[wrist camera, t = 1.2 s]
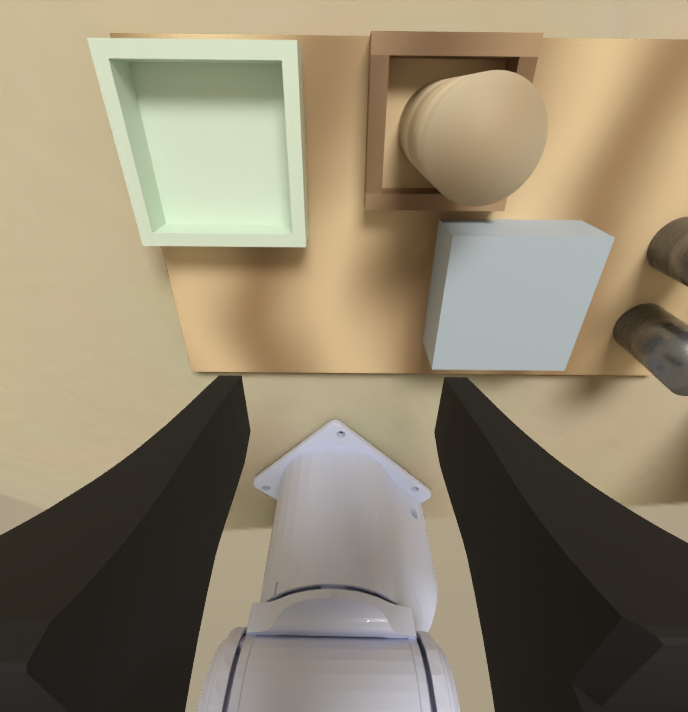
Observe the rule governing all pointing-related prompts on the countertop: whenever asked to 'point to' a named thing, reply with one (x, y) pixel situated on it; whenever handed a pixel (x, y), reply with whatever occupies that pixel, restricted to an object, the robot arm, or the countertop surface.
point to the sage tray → (209, 138)
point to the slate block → (511, 292)
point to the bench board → (442, 202)
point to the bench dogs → (661, 315)
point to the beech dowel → (475, 135)
